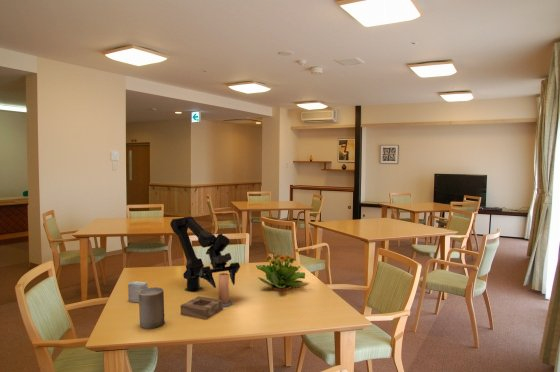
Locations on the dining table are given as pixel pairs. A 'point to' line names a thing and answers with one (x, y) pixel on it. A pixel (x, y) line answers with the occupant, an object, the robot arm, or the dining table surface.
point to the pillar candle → (151, 307)
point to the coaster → (228, 304)
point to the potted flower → (281, 273)
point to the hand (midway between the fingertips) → (224, 286)
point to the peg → (224, 287)
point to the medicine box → (135, 290)
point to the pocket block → (201, 307)
